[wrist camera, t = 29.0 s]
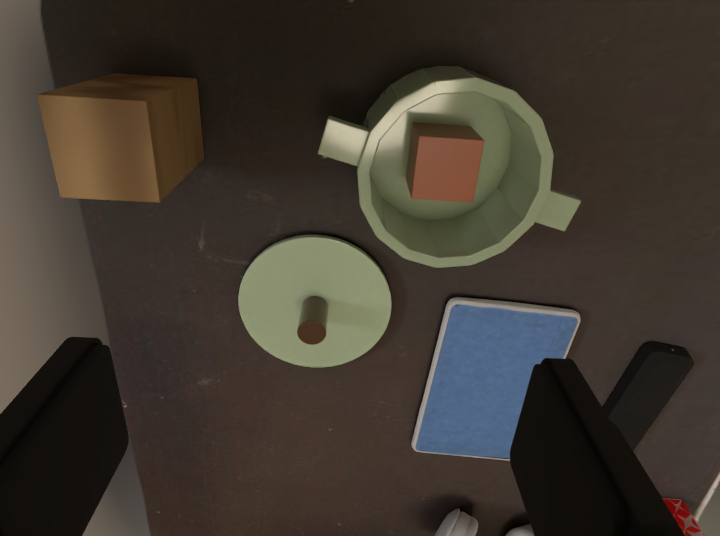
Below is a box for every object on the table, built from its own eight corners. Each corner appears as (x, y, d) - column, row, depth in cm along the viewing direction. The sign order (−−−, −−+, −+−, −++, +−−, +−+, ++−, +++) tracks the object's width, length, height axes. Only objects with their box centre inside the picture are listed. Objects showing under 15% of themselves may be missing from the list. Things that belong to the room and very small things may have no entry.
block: (405, 179, 40) (411, 198, 36) (412, 122, 38) (418, 135, 34) (461, 183, 40) (473, 203, 36) (471, 126, 38) (484, 140, 34)
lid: (364, 373, 49) (364, 411, 45) (228, 339, 47) (214, 375, 43) (412, 256, 43) (419, 286, 39) (259, 212, 41) (246, 237, 37)
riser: (127, 154, 39) (59, 197, 30) (114, 73, 36) (36, 94, 27) (204, 158, 39) (160, 203, 30) (197, 78, 36) (146, 100, 28)
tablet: (521, 455, 55) (525, 464, 54) (408, 445, 54) (409, 454, 53) (579, 306, 46) (585, 314, 45) (446, 292, 45) (448, 299, 44)
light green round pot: (507, 252, 43) (534, 296, 37) (306, 191, 41) (296, 227, 34) (580, 109, 38) (627, 130, 31) (353, 28, 35) (352, 33, 28)
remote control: (615, 452, 55) (691, 349, 48) (622, 465, 54) (702, 361, 46) (574, 444, 55) (645, 339, 47) (581, 458, 53) (655, 351, 46)
